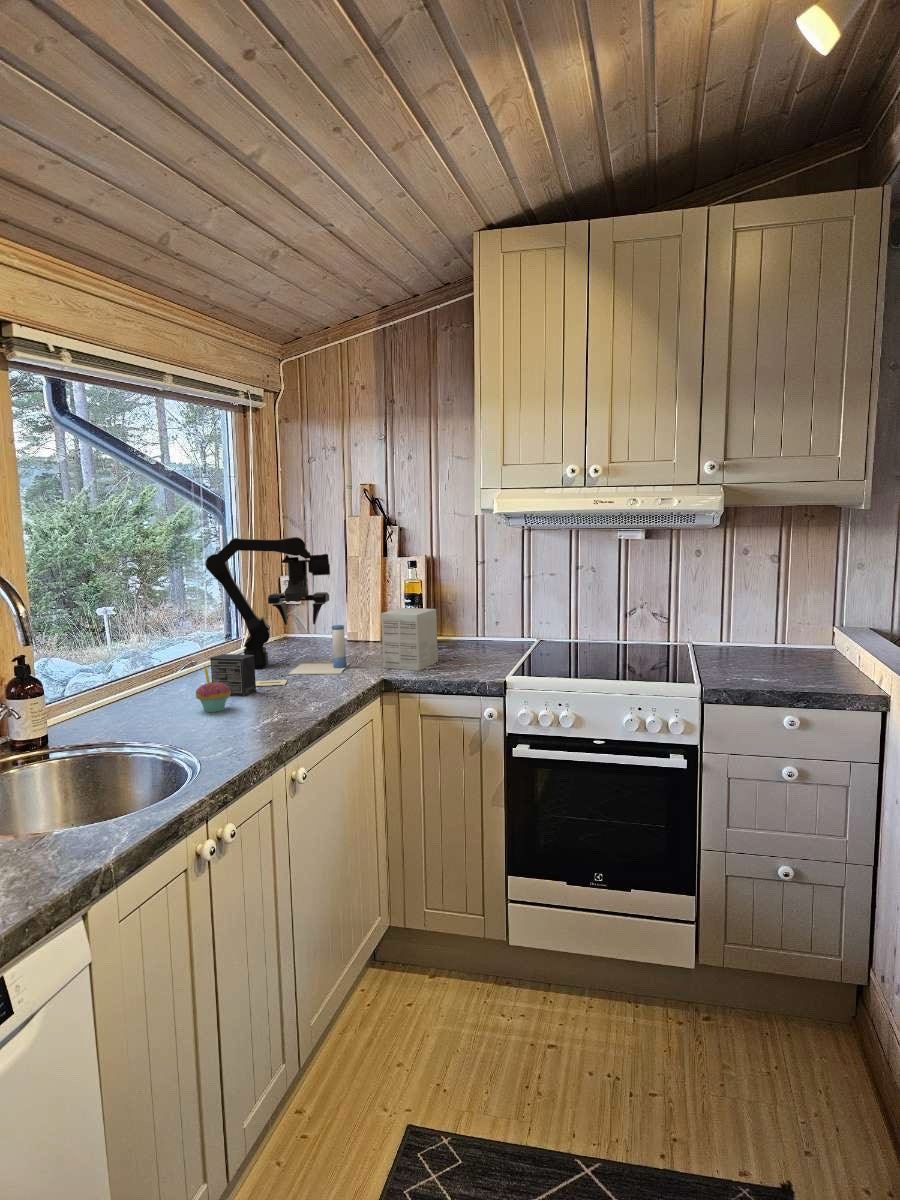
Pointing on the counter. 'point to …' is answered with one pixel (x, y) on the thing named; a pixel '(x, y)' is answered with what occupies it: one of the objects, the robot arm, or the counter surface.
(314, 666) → the notepad
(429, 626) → the supplement box
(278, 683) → the word card
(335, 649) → the cylinder
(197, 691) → the cupcake
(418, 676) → the counter surface
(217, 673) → the small box
